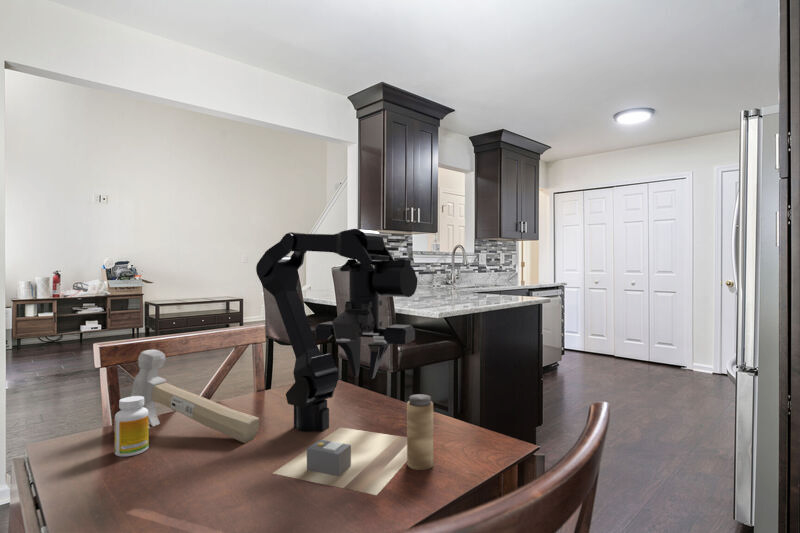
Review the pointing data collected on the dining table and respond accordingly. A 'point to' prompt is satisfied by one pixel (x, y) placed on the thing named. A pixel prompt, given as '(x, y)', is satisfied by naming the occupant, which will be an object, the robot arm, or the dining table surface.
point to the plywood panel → (357, 461)
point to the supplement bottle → (131, 427)
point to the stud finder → (329, 457)
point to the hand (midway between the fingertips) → (364, 377)
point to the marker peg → (420, 432)
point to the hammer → (188, 401)
